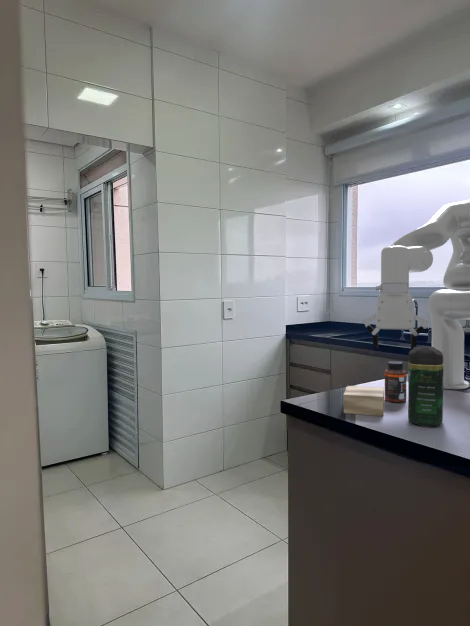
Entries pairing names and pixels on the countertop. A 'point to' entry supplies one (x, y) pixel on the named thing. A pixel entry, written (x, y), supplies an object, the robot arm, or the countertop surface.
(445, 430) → the countertop surface
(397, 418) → the countertop surface
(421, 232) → the robot arm
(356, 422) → the countertop surface
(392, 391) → the supplement bottle
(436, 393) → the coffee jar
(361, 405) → the beech block
